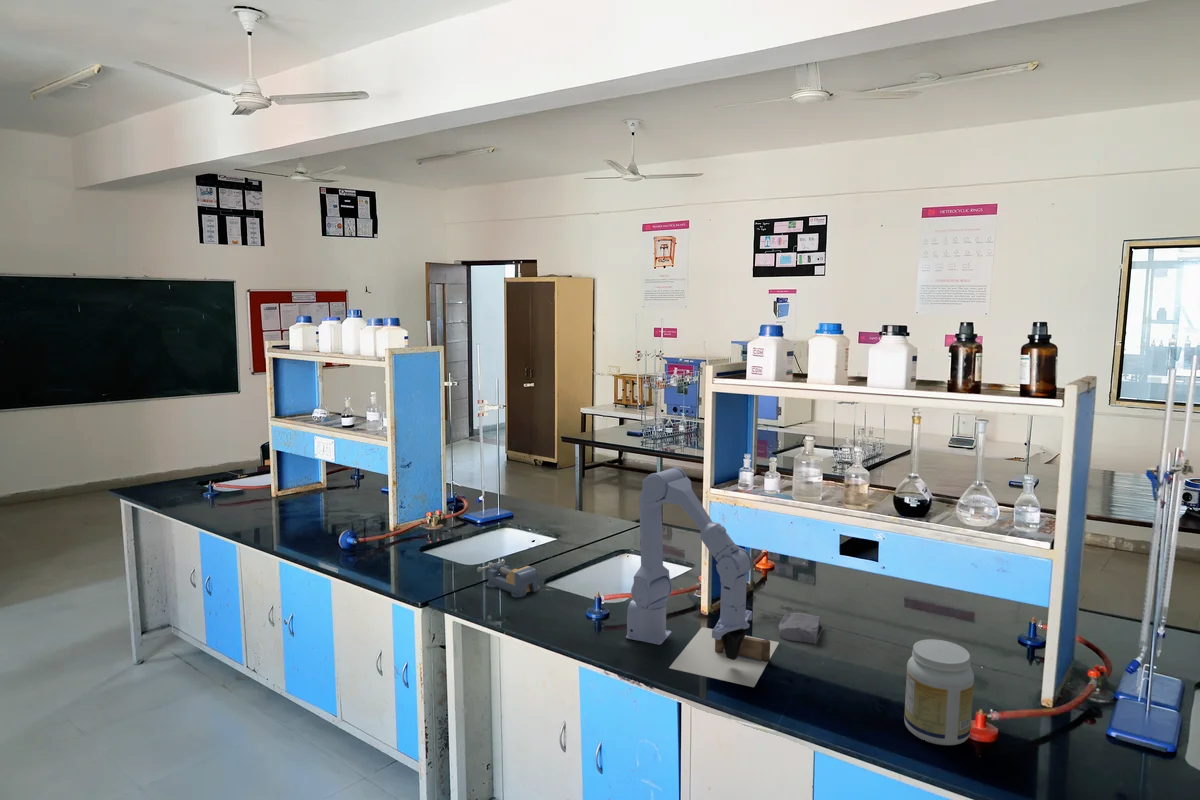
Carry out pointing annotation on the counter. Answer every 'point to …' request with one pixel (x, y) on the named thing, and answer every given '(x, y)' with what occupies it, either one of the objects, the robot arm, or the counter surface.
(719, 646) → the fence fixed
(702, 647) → the board
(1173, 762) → the counter surface
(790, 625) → the stone block
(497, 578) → the vise
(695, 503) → the robot arm
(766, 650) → the swing rail
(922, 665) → the supplement tub
